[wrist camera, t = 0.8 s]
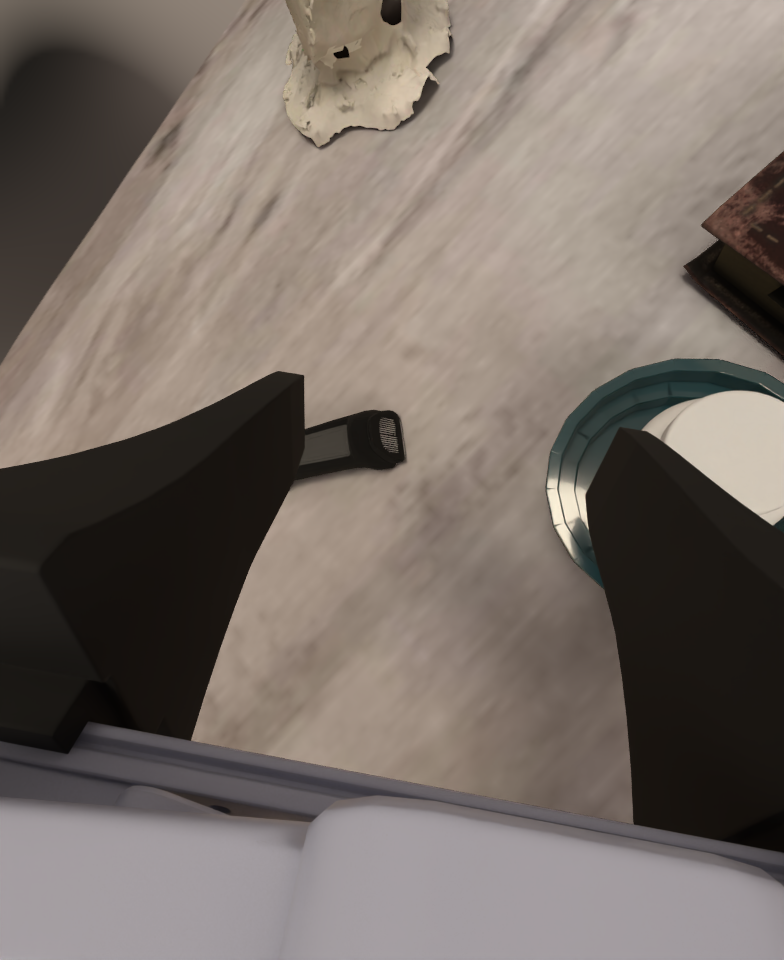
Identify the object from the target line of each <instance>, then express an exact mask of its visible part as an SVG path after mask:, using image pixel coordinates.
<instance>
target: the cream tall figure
mask: <svg viewBox="0 0 784 960" xmlns="http://www.w3.org/2000/svg"><path fill="white" fill-rule="evenodd" d="M382 1H383V0H286V3H287V6H288V8H289V10H290V14H291V15H292V18H293V21H294V23H295V25H296V28H297V34H298V35H297V34H294V35H293V37H292V40H293V41H292V42H291V43H290V45H289V48H288V49H289V50H288V52H287V55H286V65H290V64H291V63H292V61H291V58H292V60H293V67H292V74H291V77H290V78H289V80H288V82H287V84H286V85H285V87H284V89H285V90H284V91H283V99H284V101H285V103H286V112H287V114H288V116H289V118H290V120H291V122H292V123H293V125H294V126H295V127H296V128H297V129H298V130H299V131H300V132H301V133H302V134H303V135H305V136H307V137H310V138H312V140H313V141H314V143H315V144H316V145H317V147H320V146H321V145H324V144H325V143H326V142H329V141H330V137H333V135H334V133H336V132H337V133H340V132H341V130H342V129H343V128H346V127H348V126H354V127H355V126H363V127H366V128H370V127H371V128H378V129H379V130H384V129H387V130H394V129H395V127H396V126H398V125H399V124H400V122H401V120H402V121H405V119H406V118H409V117H410V116H411V114H414V112H413V108H412V105H413V101H418V100H419V98H420V97H421V93H422V88H423V86H424V84H425V81H426V79H427V77H430V79H431V80H436V77H434V76H433V74H432V72H429V70H428V69H427V68H426V67H427V65H428V64H429V63H430V62H431V61H432V60H433V59H434V57H435V56H437V55H441V54H443V53H445V52H447V53H449V50H450V43H449V37H450V35H451V36H452V34H451V33H450V30H449V28H448V27H450V26H451V24H450V19H449V12H448V10H449V8H448V4H447V1H446V0H401V7H402V11H401V22H400V23H399V24H397V25H389V24H388V23H386V22H383V20H382V17H381V15H380V12H381V6H382ZM295 32H296V31H295ZM448 36H449V37H448ZM452 38H453V37H452ZM344 45H345V46H346V47H347V48H348V51H349V56H350V57H348V58H342V59H337V58H336V57H335V56H334V54H333V53H335V52H339V51H342V50H343V48H344ZM436 81H437V80H436ZM437 83H438V85H439V82H438V81H437Z"/></svg>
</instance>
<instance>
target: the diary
mask: <svg viewBox="0 0 784 960" xmlns="http://www.w3.org/2000/svg"><path fill="white" fill-rule="evenodd" d="M701 226H702V227H703V228H704V229H705V230H707V231H708V232H710V233H711V234H712V235H714V236H715V237H716V238H718V239H719V240H718V241H717V242H715V243H714V244H713V245H712V246H710V247H709V248H708V249H707V250H706V251H704V252H703V253H702V254H701V255H699V256H698V257H697V258H695V259H694V260H692V261H691V262H689V263H688V264H686V265H684V266H683V267H684V268H685V269H686V270H687V272H688V273H689V274H690V275H691V277H692V278H693V279H694V280H695V282H696V283H697V284H699V285H700V286H701V287H702V288H703V289H705V290H706V291H707V292H708V293H709V294H710V295H712V296H713V297H714V298H715V299H716V300H718V301H719V302H720V303H721V304H722V305H724V306H725V307H726V308H727V309H728V310H729V311H731V312H732V313H733V314H734V315H735V316H737V317H738V318H739V319H740V320H741V321H742V322H744V323H745V324H746V325H747V326H748V327H750V328H751V329H752V330H753V331H754V332H756V333H757V334H758V335H759V336H760V337H761V338H763V339H764V340H765V341H766V342H767V343H769V344H770V345H771V346H772V347H773V348H774V349H776V350H777V351H778V352H779V353H780V354H782V355H783V356H784V151H783V152H782V153H781V154H780V155H779V156H778V157H776V158H775V159H774V160H773V161H772V162H771V163H770V164H768V165H767V166H766V167H765V168H764V169H763V170H761V171H760V172H759V173H758V174H757V175H756V176H755V177H753V178H752V179H751V180H750V181H749V182H748V183H747V184H745V185H744V186H743V187H742V188H741V189H740V190H739V191H737V192H736V193H735V194H734V195H733V196H732V197H731V198H729V199H728V200H727V201H726V202H725V203H724V204H722V205H721V206H720V207H719V208H718V209H717V210H716V211H715V212H714V213H713V214H712V215H711V216H710V217H709V218H708V219H707V220H705V221H704V222H703V223H702V224H701Z"/></svg>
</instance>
